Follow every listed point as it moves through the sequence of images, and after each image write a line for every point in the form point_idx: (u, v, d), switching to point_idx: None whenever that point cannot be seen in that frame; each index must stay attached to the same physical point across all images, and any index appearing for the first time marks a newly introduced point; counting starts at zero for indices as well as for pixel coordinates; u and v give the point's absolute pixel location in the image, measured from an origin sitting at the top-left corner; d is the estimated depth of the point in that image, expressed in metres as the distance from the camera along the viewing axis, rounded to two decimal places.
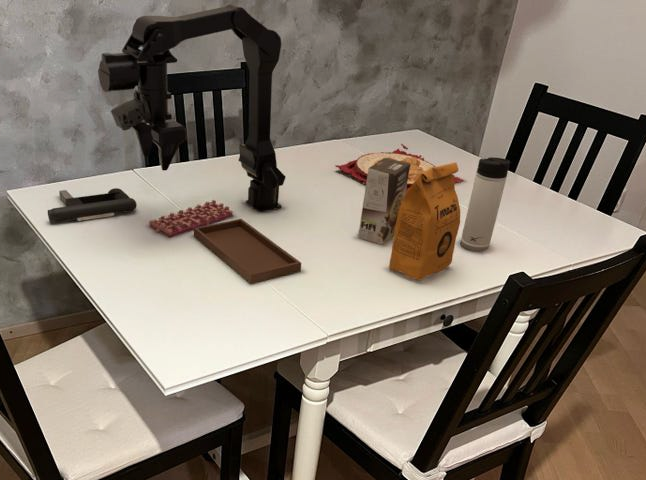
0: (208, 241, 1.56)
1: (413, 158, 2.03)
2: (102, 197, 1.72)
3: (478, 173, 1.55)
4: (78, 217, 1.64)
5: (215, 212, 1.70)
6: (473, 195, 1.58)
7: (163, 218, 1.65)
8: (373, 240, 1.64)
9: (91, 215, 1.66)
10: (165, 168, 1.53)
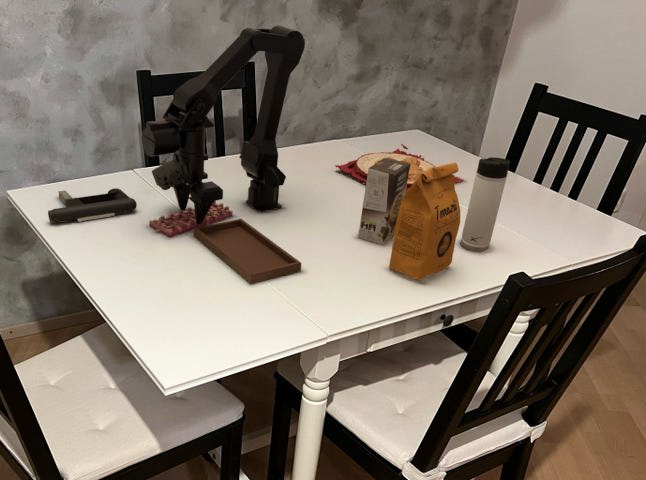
0: (208, 241, 1.56)
1: (413, 158, 2.03)
2: (102, 197, 1.72)
3: (478, 173, 1.55)
4: (79, 217, 1.64)
5: (215, 212, 1.70)
6: (473, 195, 1.58)
7: (163, 218, 1.65)
8: (373, 240, 1.64)
9: (92, 216, 1.66)
10: (199, 222, 1.64)
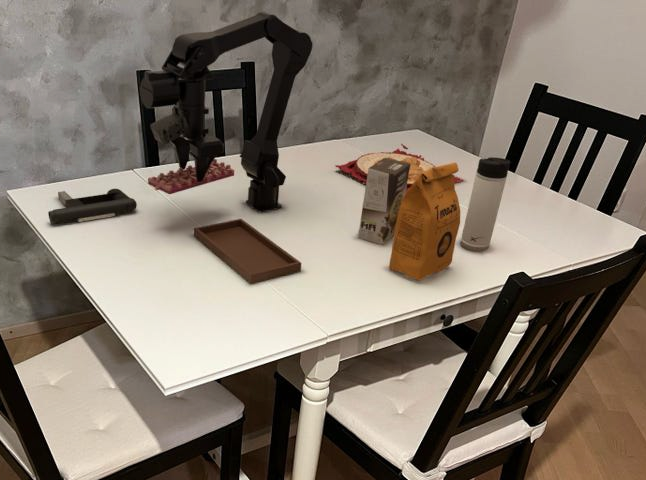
0: (208, 241, 1.56)
1: (413, 158, 2.03)
2: (102, 197, 1.72)
3: (478, 173, 1.55)
4: (79, 218, 1.64)
5: (216, 170, 1.64)
6: (473, 195, 1.58)
7: (162, 175, 1.59)
8: (373, 240, 1.64)
9: (92, 216, 1.65)
10: (200, 179, 1.59)
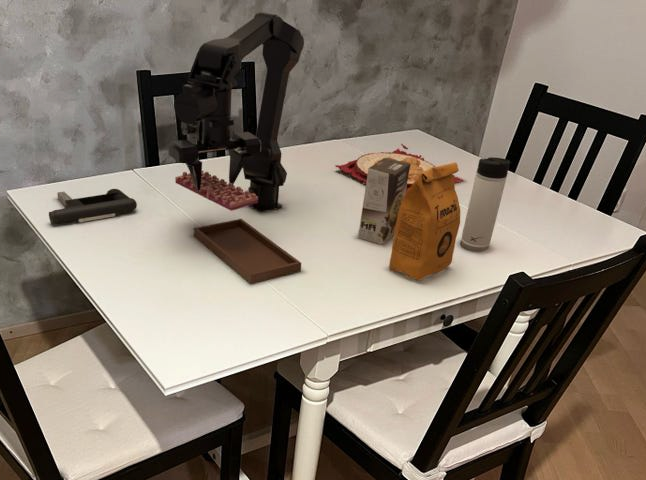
0: (208, 241, 1.56)
1: (413, 158, 2.03)
2: (102, 197, 1.71)
3: (478, 173, 1.55)
4: (79, 218, 1.64)
5: None
6: (473, 195, 1.58)
7: (205, 174, 1.61)
8: (373, 240, 1.64)
9: (92, 216, 1.65)
10: (196, 188, 1.54)
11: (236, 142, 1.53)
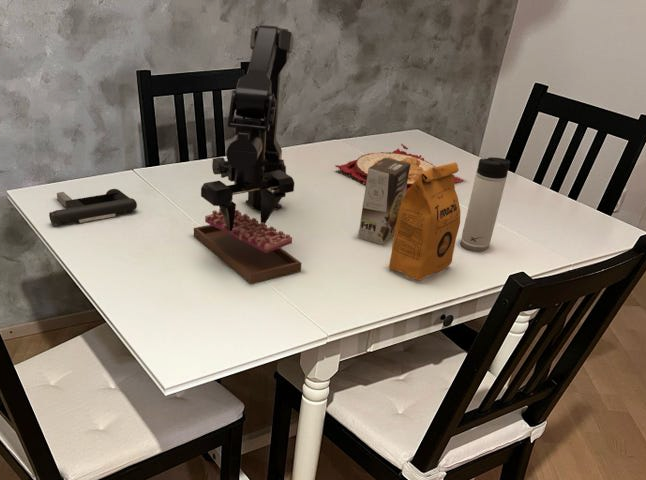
0: (208, 241, 1.56)
1: (413, 158, 2.03)
2: (102, 198, 1.71)
3: (478, 173, 1.55)
4: (80, 219, 1.64)
5: (260, 238, 1.48)
6: (473, 195, 1.58)
7: (235, 212, 1.57)
8: (373, 240, 1.64)
9: (93, 217, 1.65)
10: (228, 228, 1.51)
11: (269, 182, 1.50)
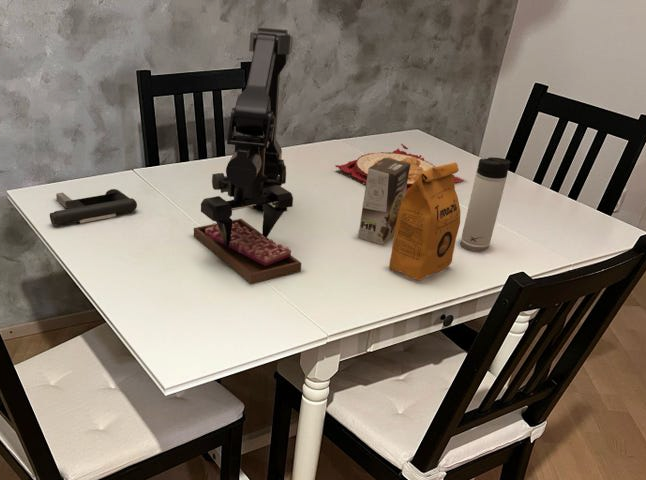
0: (208, 241, 1.56)
1: (413, 158, 2.03)
2: (101, 198, 1.71)
3: (478, 173, 1.55)
4: (81, 219, 1.64)
5: (260, 251, 1.50)
6: (473, 195, 1.58)
7: (235, 225, 1.59)
8: (373, 240, 1.64)
9: (93, 217, 1.65)
10: (225, 244, 1.52)
11: (268, 197, 1.51)
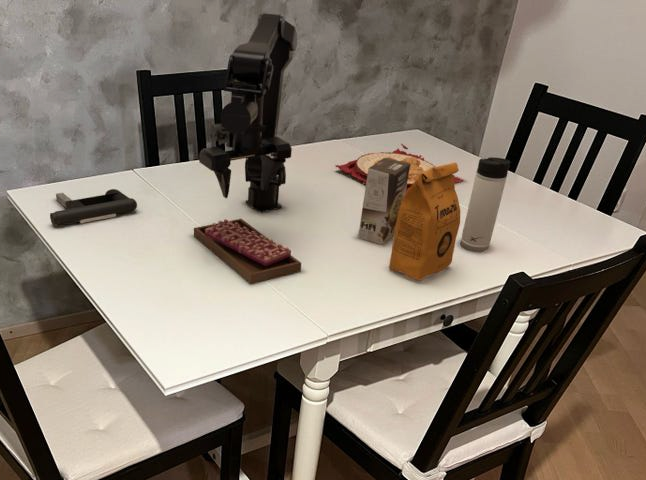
0: (208, 241, 1.56)
1: (413, 158, 2.03)
2: (101, 198, 1.71)
3: (478, 173, 1.55)
4: (81, 219, 1.63)
5: (259, 251, 1.50)
6: (473, 195, 1.58)
7: (235, 225, 1.59)
8: (373, 240, 1.64)
9: (93, 217, 1.65)
10: (224, 195, 1.52)
11: (266, 148, 1.51)
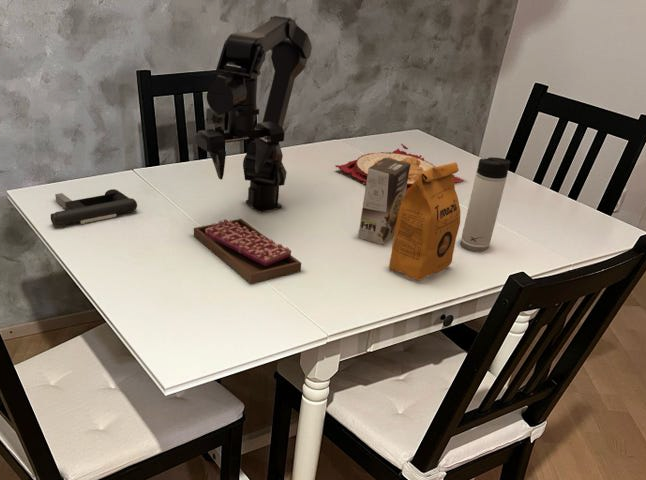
0: (208, 241, 1.56)
1: (413, 158, 2.03)
2: (101, 198, 1.71)
3: (478, 173, 1.55)
4: (81, 220, 1.63)
5: (259, 251, 1.50)
6: (473, 195, 1.58)
7: (235, 225, 1.59)
8: (373, 240, 1.64)
9: (94, 217, 1.65)
10: (219, 177, 1.57)
11: (260, 131, 1.57)
